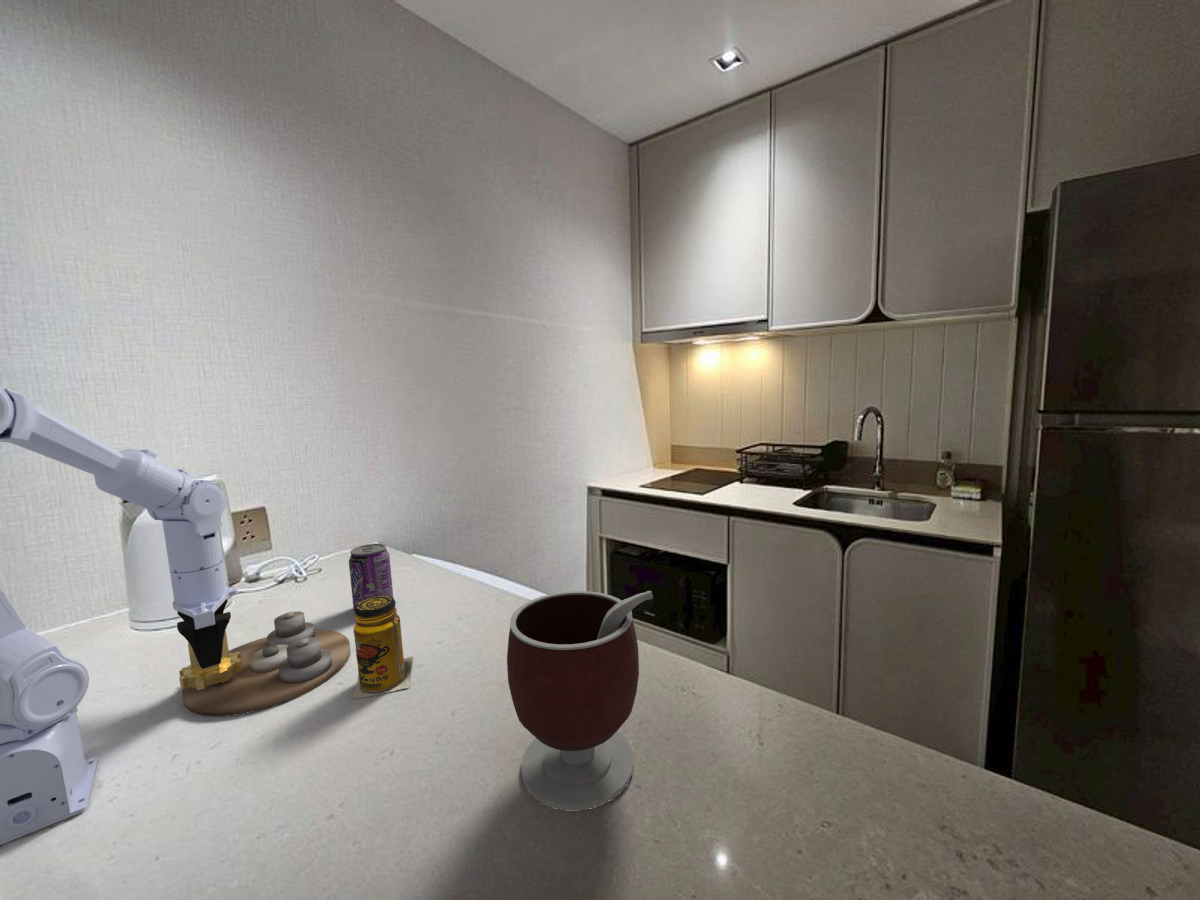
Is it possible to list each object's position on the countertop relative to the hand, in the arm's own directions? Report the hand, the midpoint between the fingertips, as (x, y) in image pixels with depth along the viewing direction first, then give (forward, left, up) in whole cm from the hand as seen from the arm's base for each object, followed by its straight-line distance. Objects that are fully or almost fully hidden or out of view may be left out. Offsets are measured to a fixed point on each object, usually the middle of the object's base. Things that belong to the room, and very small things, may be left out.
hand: (210, 658), depth 69 cm
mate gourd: (-47, -30, -5) cm, 56 cm away
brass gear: (0, 0, -2) cm, 3 cm away
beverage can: (+12, -25, -5) cm, 28 cm away
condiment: (-14, -19, -5) cm, 24 cm away
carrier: (0, -7, -5) cm, 8 cm away
